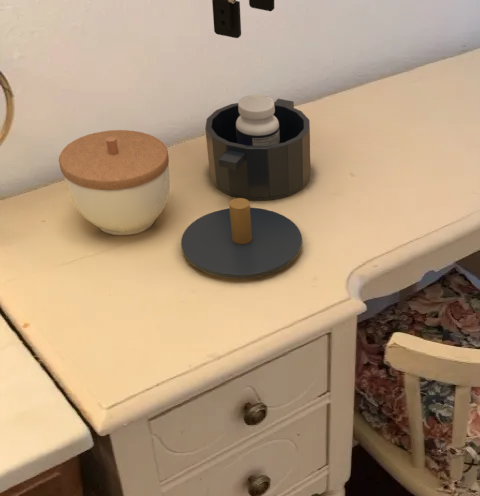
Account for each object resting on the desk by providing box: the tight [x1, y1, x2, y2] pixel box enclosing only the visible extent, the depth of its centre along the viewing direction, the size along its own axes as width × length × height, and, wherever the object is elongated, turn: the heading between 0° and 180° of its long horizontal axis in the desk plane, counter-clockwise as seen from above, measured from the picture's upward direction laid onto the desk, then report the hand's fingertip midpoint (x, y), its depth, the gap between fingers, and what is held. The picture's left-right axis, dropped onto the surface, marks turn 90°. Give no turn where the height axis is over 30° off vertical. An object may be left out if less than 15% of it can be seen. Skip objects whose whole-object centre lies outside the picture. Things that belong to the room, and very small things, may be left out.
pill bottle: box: [236, 94, 280, 146], centre depth 112 cm, size 6×6×10 cm
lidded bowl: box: [58, 129, 171, 236], centre depth 102 cm, size 13×13×11 cm
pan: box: [204, 98, 311, 201], centre depth 113 cm, size 14×19×8 cm
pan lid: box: [180, 197, 303, 279], centre depth 100 cm, size 15×15×6 cm
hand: (245, 21), depth 101 cm, fingers open, 9 cm apart
